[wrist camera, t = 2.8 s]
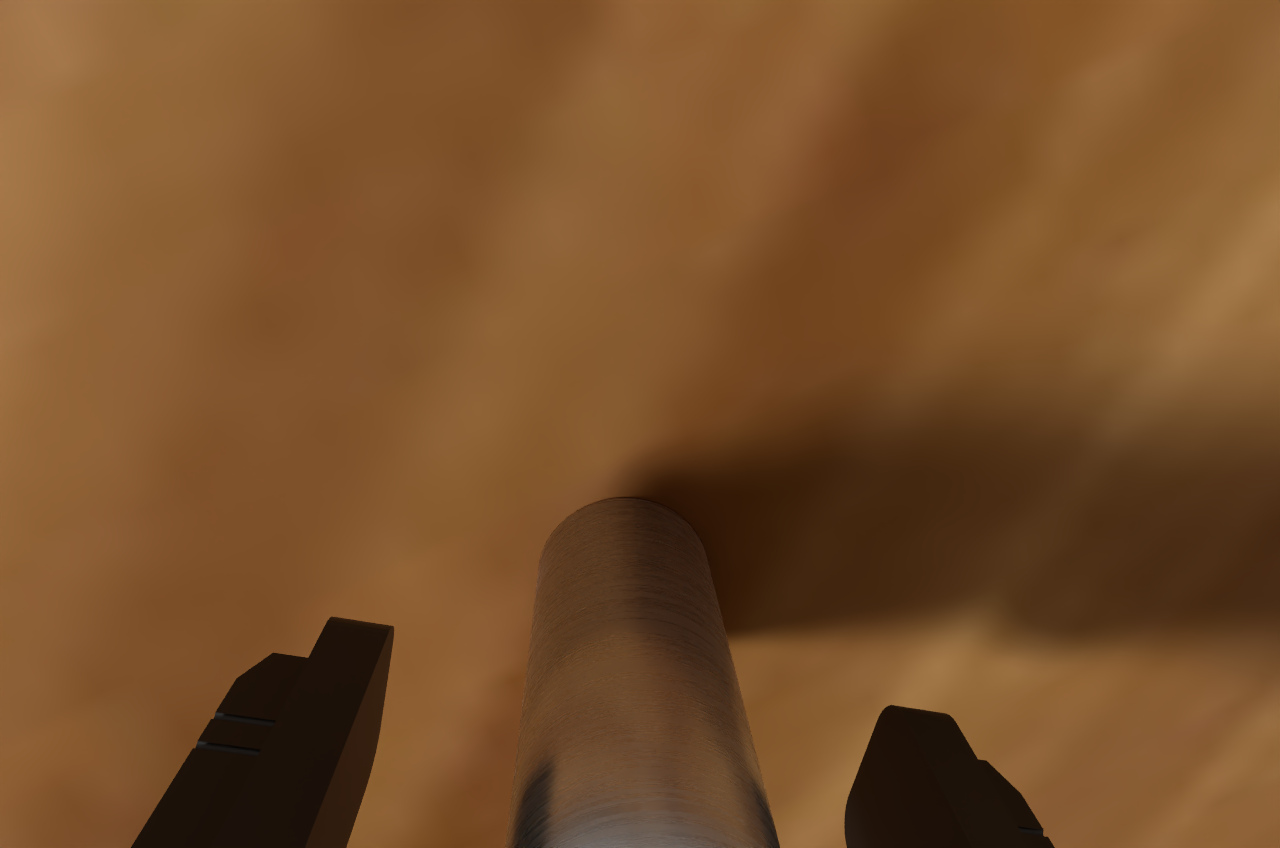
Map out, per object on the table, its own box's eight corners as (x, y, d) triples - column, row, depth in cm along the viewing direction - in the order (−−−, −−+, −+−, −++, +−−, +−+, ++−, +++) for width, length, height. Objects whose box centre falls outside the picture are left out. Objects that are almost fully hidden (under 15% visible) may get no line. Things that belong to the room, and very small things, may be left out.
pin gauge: (730, 512, 14) (1019, 1368, 4) (688, 661, 15) (853, 1628, 5) (552, 480, 13) (458, 1338, 4) (521, 634, 14) (385, 1620, 5)
